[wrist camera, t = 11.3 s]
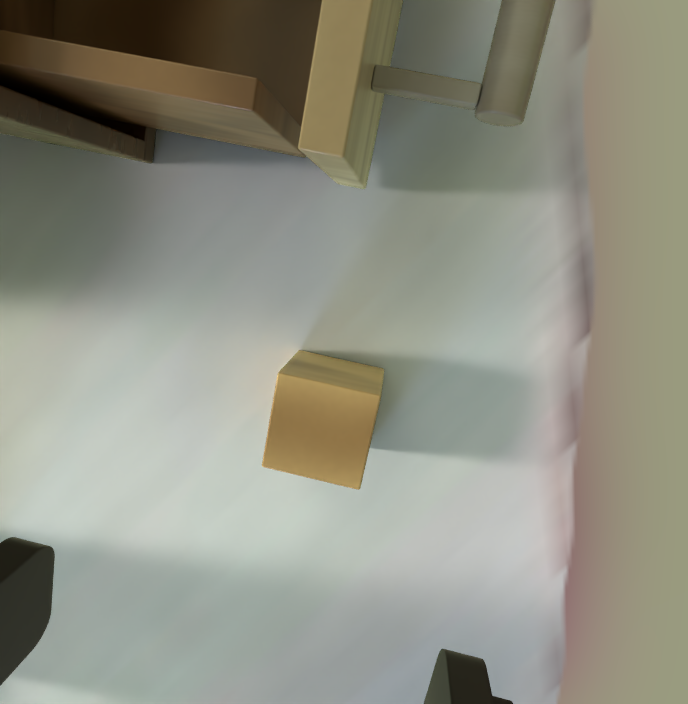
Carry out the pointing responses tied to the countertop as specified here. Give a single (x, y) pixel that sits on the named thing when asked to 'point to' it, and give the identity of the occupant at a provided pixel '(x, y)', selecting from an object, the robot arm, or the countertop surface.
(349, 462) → the block
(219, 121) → the drawer
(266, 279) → the countertop surface
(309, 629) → the countertop surface
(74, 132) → the cabinet
